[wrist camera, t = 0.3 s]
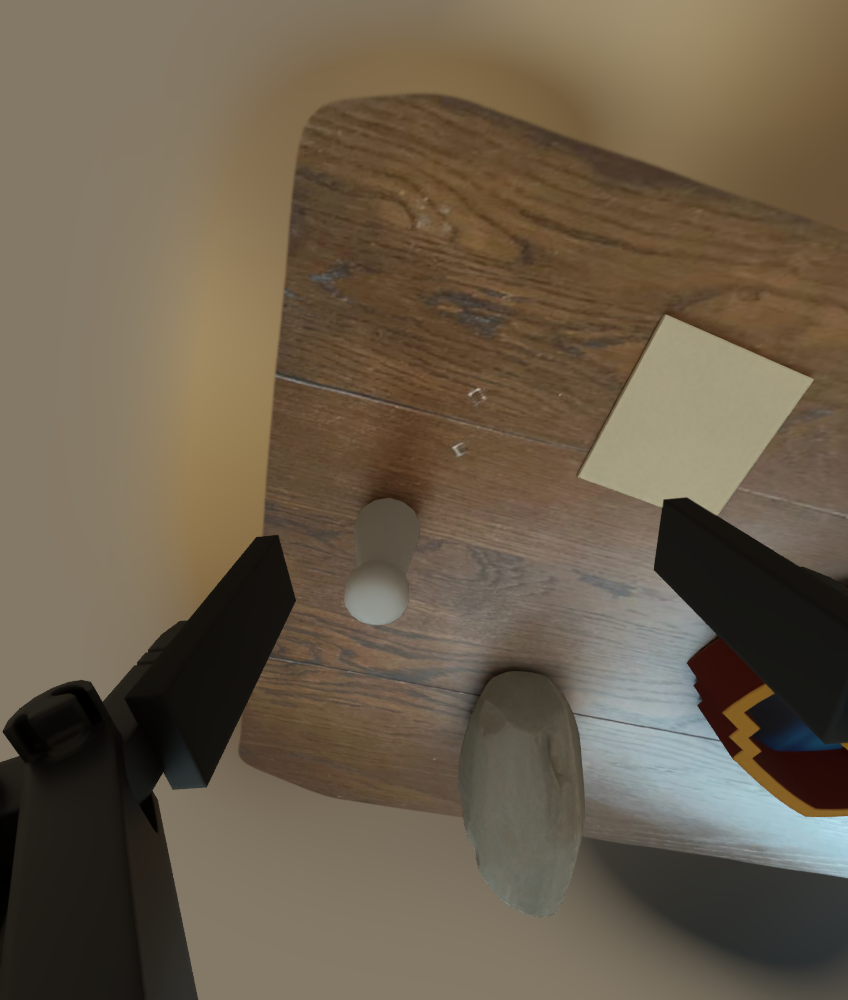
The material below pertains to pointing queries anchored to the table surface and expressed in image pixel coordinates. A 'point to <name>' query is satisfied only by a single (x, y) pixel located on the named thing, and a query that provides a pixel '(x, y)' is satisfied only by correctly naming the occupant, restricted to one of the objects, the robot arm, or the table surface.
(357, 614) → the salt shaker
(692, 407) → the placemat
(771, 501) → the table surface
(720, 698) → the decorative basket
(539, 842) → the decorative stone
